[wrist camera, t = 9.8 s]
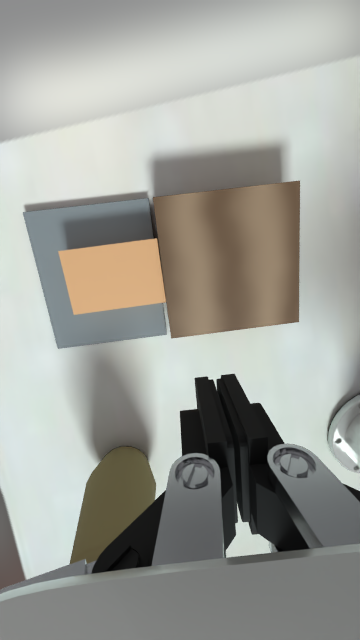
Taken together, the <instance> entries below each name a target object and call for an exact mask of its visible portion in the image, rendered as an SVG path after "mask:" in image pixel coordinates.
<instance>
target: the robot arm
mask: <svg viewBox="0 0 360 640" xmlns="http://www.w3.org/2000/svg"><path fill="white" fill-rule="evenodd" d="M195 388H196V399H197V409H194V410H184V411H180V422H181V441H182V457H180V458H179V459H177V460H176V461H175V462H174V464H173V465H172V467H171V469H170V472H169V477H168V483H167V488H166V490H165V491H164V492H163V493H162V494H161V495H160V496H159V497H158V498H157V499H156V500H155V501H154V502H153V503H152V504H151V505H150V506H149V507H148V508H147V509H146V510H145V511H144V512H143V513H141V514H140V515H139V516H138V517H137V518H136V519H135V520H134V521H133V522H132V523H131V524H130V525H129V526H128V527H127V528H126V529H125V530H124V531H123V532H122V533H121V534H120V535H119V536H118V537H116V538H115V539H114V540H113V541H112V542H111V543H110V544H109V545H108V546H107V547H106V548H105V549H104V551H103V552H102V553H101V554H100V555H99V557H98V559H97V560H96V561H93V562H91V563H88V564H87V563H86V559H84V560H81V561H78V562H75V563H72V564H70V565H67V566H64V567H61V568H58V569H56V570H53V571H50V572H47V573H45V574H42V575H39V576H36V577H33V578H31V579H28V580H25V581H22V582H19V583H17V584H14V585H11V586H8V587H5V588H3V589H1V590H0V640H360V491H358V490H356V489H354V488H351V487H349V486H347V485H345V484H343V483H341V482H340V480H339V479H338V478H337V477H336V476H335V475H334V474H333V473H332V472H331V471H330V470H329V469H328V468H327V467H326V466H325V465H324V463H323V462H322V461H321V460H320V459H319V458H318V457H317V456H316V455H315V454H313V453H312V452H311V451H310V450H308V449H306V448H304V447H301V446H298V445H295V444H284V442H283V440H282V439H281V437H280V435H279V434H278V432H277V430H276V428H275V427H274V425H273V423H272V422H271V420H270V418H269V417H268V415H267V413H266V412H265V410H264V408H263V407H262V405H261V404H260V403H253V404H250V402H249V400H248V399H247V397H246V395H245V393H244V391H243V389H242V387H241V385H240V383H239V382H238V380H237V378H236V376H235V374H228V375H221V379H217V390H216V387H215V384H214V381H213V380H208V377H198V378H195ZM328 443H329V448H330V450H331V453H332V454H333V456H334V457H335V458H336V460H337V461H338V462H339V463H340V464H341V465H342V466H343V467H345V468H346V469H348V470H350V471H352V472H355V473H360V394H359V395H357V396H355V397H354V398H353V399H351V400H350V401H348V402H347V403H346V404H345V405H344V406H343V407H342V408H341V409H340V410H339V411H338V413H337V414H336V415H335V417H334V419H333V421H332V423H331V426H330V429H329V434H328ZM237 504H238V508H239V511H240V515H241V519H242V522H249V526H250V529H251V533H252V535H253V534H260V535H261V536H263V537H264V538H265V539H267V540H268V541H269V548H270V551H271V553H266V554H257V555H248V556H238V557H229V558H226V549H227V548H228V546H229V545H230V543H231V542H232V540H233V539H234V537H235V536H236V529H235V523H238V516H237Z"/></svg>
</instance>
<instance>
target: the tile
mask: <svg viewBox="0 0 360 640" xmlns="http://www.w3.org/2000/svg"><path fill="white" fill-rule="evenodd" d="M58 252H59V256H60V260H61V265H62V269H63V273H64V277H65V281H66V285H67V289H68V293H69V297H70V301H71V305H72V310H73V314H74V315H77V314H84V313H92V312H99V311H106V310H113V309H121V308H128V307H135V306H142V305H150V304H157V303H164V302H166V295H165V288H164V281H163V274H162V267H161V260H160V253H159V246H158V239H157V238H155V239H148V240H140V241H132V242H125V243H117V244H109V245H102V246H94V247H87V248H79V249H71V250H64V251H58Z"/></svg>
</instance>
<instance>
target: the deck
mask: <svg viewBox="0 0 360 640" xmlns="http://www.w3.org/2000/svg"><path fill="white" fill-rule="evenodd" d="M153 202H154V210H155V218H156V225H157V233H158V241H159V248H160V256H161V263H162V271H163V279H164V286H165V294H166V302H167V309H168V317H169V324H170V332H171V338H178V337H186V336H194V335H202V334H209V333H217V332H225V331H233V330H240V329H248V328H256V327H263V326H271V325H279V324H287V323H294V322H299V231H300V181H293V182H284V183H275V184H266V185H257V186H249V187H240V188H231V189H222V190H213V191H204V192H196V193H187V194H178V195H169V196H160V197H153Z"/></svg>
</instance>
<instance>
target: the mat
mask: <svg viewBox="0 0 360 640" xmlns="http://www.w3.org/2000/svg"><path fill="white" fill-rule="evenodd" d="M23 215H24V219H25V223H26V227H27V231H28V235H29V238H30V242H31V246H32V250H33V254H34V258H35V262H36V266H37V270H38V273H39V277H40V281H41V285H42V289H43V293H44V297H45V301H46V305H47V308H48V312H49V316H50V320H51V324H52V328H53V332H54V336H55V340H56V343H57V347H58V349H59V348H67V347H75V346H83V345H90V344H98V343H106V342H114V341H121V340H129V339H137V338H145V337H152V336H160V335H167V332H166V325H165V318H164V310H163V303H157V304H150V305H142V306H135V307H128V308H121V309H113V310H106V311H99V312H92V313H84V314H77V315H74V314H73V310H72V305H71V301H70V297H69V293H68V289H67V285H66V281H65V277H64V273H63V269H62V265H61V260H60V256H59V252H58V251H64V250H71V249H79V248H87V247H94V246H102V245H109V244H117V243H125V242H132V241H140V240H148V239H154V237H153V229H152V222H151V214H150V207H149V200H148V198H145V199H136V200H127V201H118V202H110V203H101V204H92V205H83V206H74V207H65V208H56V209H48V210H39V211H30V212H23Z"/></svg>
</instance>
